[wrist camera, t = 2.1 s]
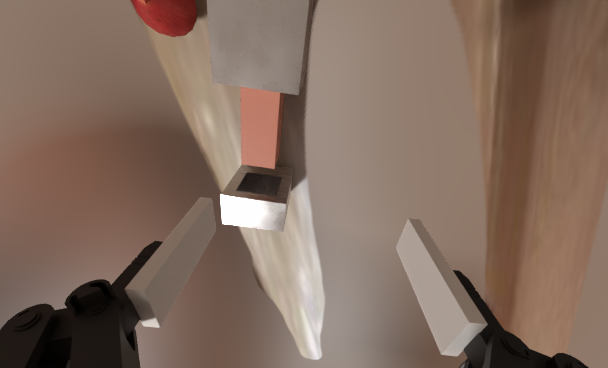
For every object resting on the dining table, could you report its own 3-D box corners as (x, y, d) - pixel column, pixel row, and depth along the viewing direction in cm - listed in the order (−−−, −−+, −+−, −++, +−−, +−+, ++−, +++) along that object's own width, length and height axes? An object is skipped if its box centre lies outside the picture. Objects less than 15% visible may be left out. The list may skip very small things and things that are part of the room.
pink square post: (252, -24, 21) (239, -40, 17) (293, -17, 21) (289, -32, 18) (250, 152, 30) (241, 164, 26) (279, 156, 30) (274, 168, 27)
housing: (243, -15, 24) (202, -55, 16) (314, -4, 24) (313, -37, 16) (243, 75, 29) (212, 82, 20) (304, 84, 29) (298, 95, 20)
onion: (159, 29, 27) (104, 19, 20) (157, -33, 24) (93, -70, 17) (207, 45, 27) (170, 41, 20) (210, -13, 25) (169, -40, 18)
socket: (244, 161, 35) (220, 195, 26) (293, 168, 35) (286, 204, 27) (244, 185, 37) (222, 223, 29) (290, 191, 37) (283, 231, 29)
